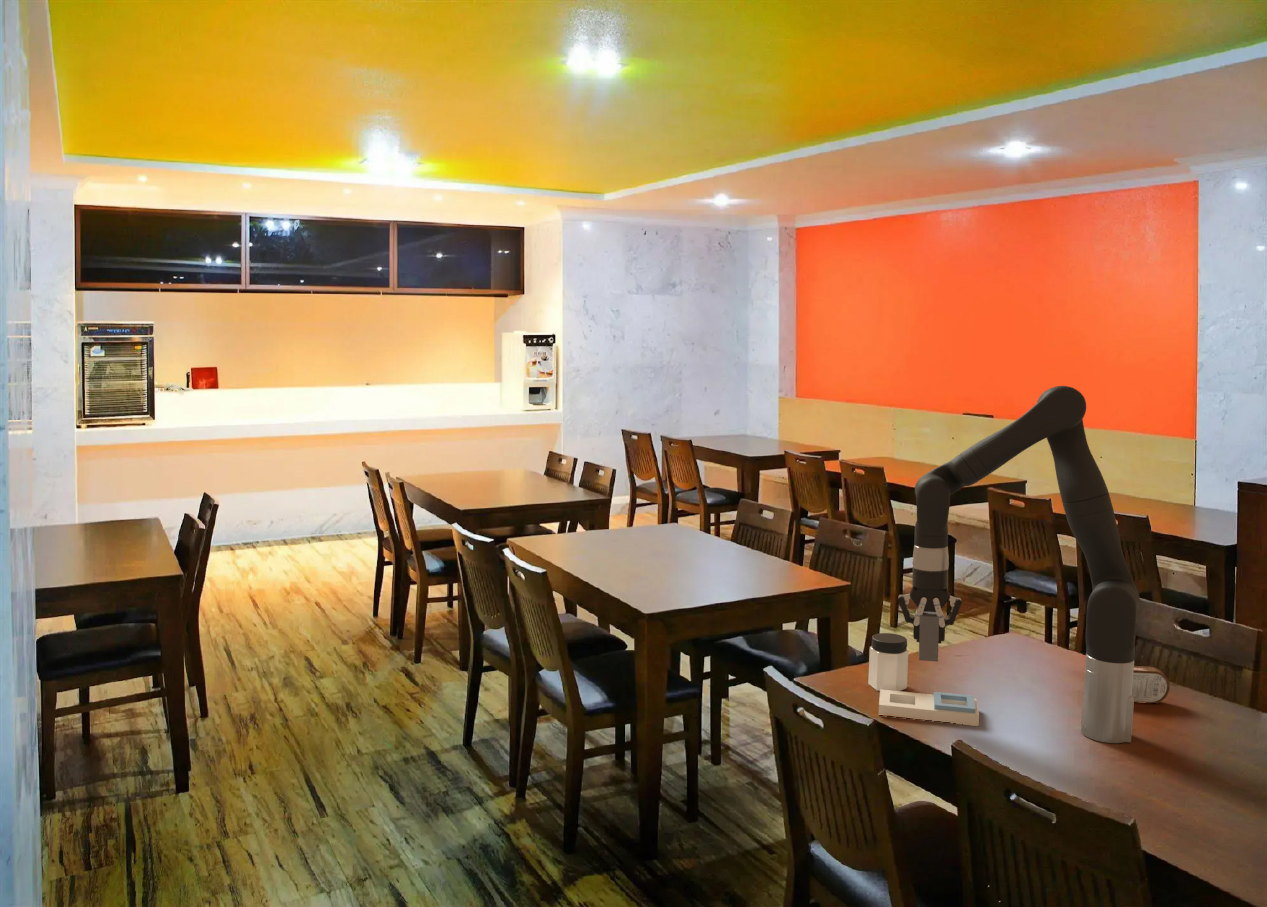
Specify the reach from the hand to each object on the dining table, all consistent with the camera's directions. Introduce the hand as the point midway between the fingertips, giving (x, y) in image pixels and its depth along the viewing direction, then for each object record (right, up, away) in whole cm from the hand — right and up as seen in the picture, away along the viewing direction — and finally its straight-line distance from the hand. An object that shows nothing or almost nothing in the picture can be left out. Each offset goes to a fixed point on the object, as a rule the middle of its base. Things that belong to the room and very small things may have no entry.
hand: (928, 641), depth 226 cm
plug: (0, -4, 0) cm, 4 cm away
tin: (+50, -16, +10) cm, 54 cm away
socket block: (0, -16, +2) cm, 16 cm away
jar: (-5, -14, +18) cm, 24 cm away
